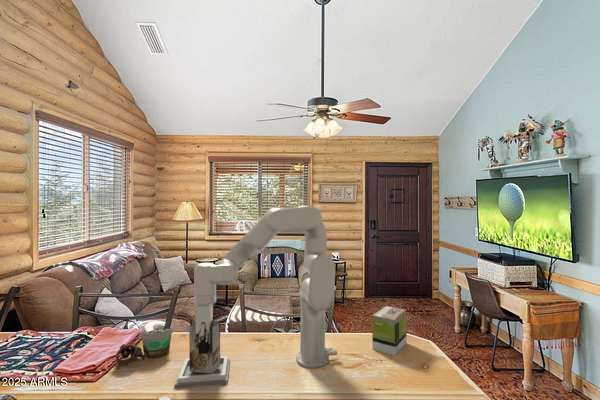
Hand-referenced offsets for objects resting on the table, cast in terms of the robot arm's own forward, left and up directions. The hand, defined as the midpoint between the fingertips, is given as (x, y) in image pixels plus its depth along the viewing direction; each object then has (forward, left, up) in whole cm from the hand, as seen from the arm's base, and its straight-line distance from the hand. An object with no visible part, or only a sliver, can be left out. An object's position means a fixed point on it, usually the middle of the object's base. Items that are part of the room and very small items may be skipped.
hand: (205, 347), depth 115 cm
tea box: (-75, -11, -10) cm, 76 cm away
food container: (+20, -16, -10) cm, 27 cm away
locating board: (0, 0, -9) cm, 9 cm away
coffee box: (0, 0, -8) cm, 8 cm away
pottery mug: (+29, -11, -10) cm, 33 cm away
